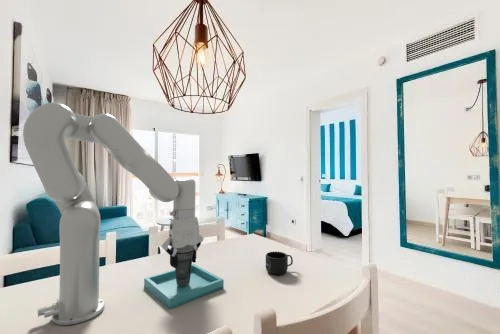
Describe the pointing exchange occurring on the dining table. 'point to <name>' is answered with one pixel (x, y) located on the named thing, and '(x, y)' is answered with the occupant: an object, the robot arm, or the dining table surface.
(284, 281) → the dining table surface
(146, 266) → the dining table surface
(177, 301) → the tray
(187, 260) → the beverage cup
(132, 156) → the robot arm
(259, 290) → the dining table surface
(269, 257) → the mug
